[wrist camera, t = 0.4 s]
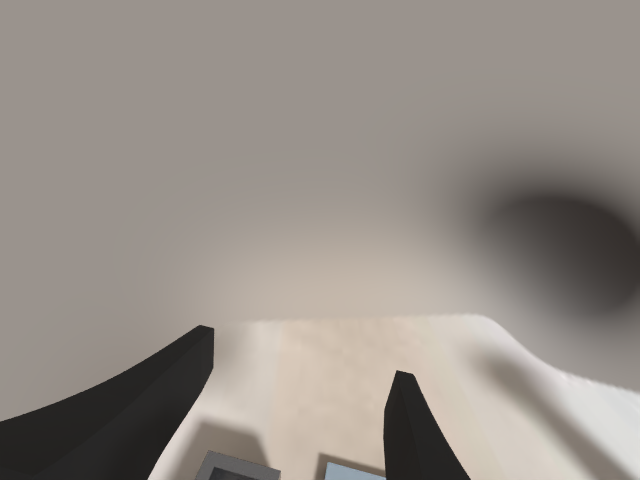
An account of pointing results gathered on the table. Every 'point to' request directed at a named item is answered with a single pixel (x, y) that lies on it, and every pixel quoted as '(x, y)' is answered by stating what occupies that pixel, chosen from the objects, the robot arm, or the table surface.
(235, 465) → the hollow square tube
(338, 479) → the board
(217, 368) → the table surface
